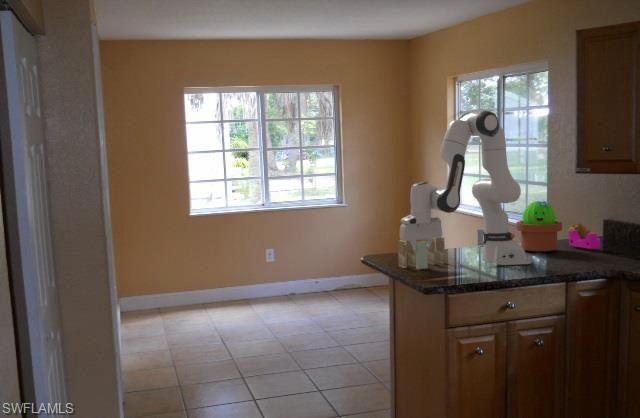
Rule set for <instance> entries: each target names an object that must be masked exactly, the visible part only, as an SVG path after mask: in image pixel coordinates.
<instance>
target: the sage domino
mask: <svg viewBox="0 0 640 418" xmlns="http://www.w3.org/2000/svg"><path fill="white" fill-rule="evenodd" d="M416 246H418V248H417V249H418V250H416V267H415V269H416V270H423V269H424V270H425V269H428V268H429V267H428V261H427V242H426V241H425V240H424V241H416Z"/></svg>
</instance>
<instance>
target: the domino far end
mask: <svg viewBox="0 0 640 418" xmlns="http://www.w3.org/2000/svg"><path fill="white" fill-rule="evenodd" d="M397 251H398V252H397V254H398V255H397V256H398V258H397V261H398V267H399V268H402V269H406V268H408V241H402V240H401V239H399V240H397Z"/></svg>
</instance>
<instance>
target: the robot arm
mask: <svg viewBox="0 0 640 418" xmlns="http://www.w3.org/2000/svg"><path fill="white" fill-rule="evenodd" d="M498 118H499V117H497V114H496V113H494V112H492V111H489V110H476V111H471V112H467V113H464V114H462V115H461V116H459V117H458V119H454V120H452V121H451V122H450V123H449V125H448V127H447V129H446V131H445V134H444V137H443V139H442V143H441V145H440V153H439V154H440V156H441V159H442V160H443V161H444V162H445V163H446V164H447V165H448V169H449V170H448V175H447V181H446V185H445V188H439V187H436V186H434V185H432V184H431V183H429V181H419V182H415V183H414V184H412V185H411V187H410V196H409V197H410V201H409V202H410V206H411V207H410V214H408V215H407V216H404V217H402V218H400V223H401V225H400V226H399V240H402V241H407V242H408V241H410V243H411V244H412V246H413V250H418V249H417V248H418V246H416V245H415V240H416V241H422V240H426V239H427V241H428V242H427V249H430V244H431V242H432V238H435V239H436V238H441V237H443V229H442V228H443V227H442V220H441V219H440V217H438V216H437V217H432V215H431V214H432V210H434V211H439V212H443V213H446V214H451V213H454V212H455V211H456V210H457V209H458V208H459V206H460V203H461V187H462V183H463V178H464V173H465V167H466V159H465V158H466V157H465V156H466V152H467V147H468V144H469V140H470V138H471V137H479V139H480V141H481V143H480V144H481V165H482V168H483V169H484V170H485V171H486V172H487V173H488V174H489V177H490V178H482V179H481V178H480V179H479V180H476V181H475V182H474V183H473V185H472V187H471V193H472V196H473V197H474V198H475V200H476V201H477V202H478V204H479V206H480V209H481V212H482V216H483V229H484V232H483V244H484V245H483V250H482V256H481V261H482V262H486V263H494V264H497V265H501V266H512V265H513V266H514V265H515V266H516V265H517V266H518V265H529V264H532V260H531V259H530V258H529V257H527V254H526V250H524V248H523V247H521V244H519V243H518V242H516V241H515V240H513V239H515V237H516V235H515V234H514V233H513V232H510V231H509V215H508V213H507V212H506V211H504V209H503V208H502V205H501V204H509V203H515V202H517V201H518V200H519V199H520V197H521V194H522V191H521V190H522V189H521V186H520V184H519V182H517V180H515V179H514V177H513V176H512V174H511V172H510V168H509V166H508V159H507V158H508V156H507V155H508V154H507V142H506V137H505V131H504V129H503V128H502V126H500V122H499V119H498Z"/></svg>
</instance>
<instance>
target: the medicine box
mask: <svg viewBox="0 0 640 418" xmlns="http://www.w3.org/2000/svg"><path fill="white" fill-rule="evenodd" d="M483 232H484V228H478V229H477V246H484V244H483Z"/></svg>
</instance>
